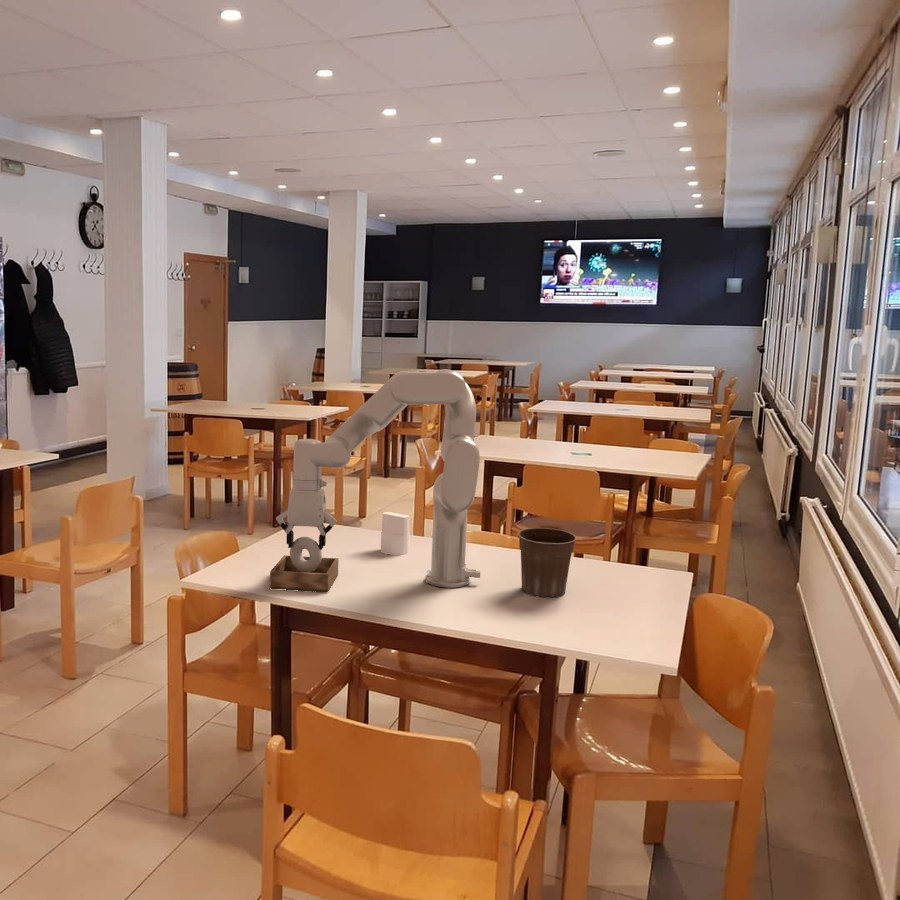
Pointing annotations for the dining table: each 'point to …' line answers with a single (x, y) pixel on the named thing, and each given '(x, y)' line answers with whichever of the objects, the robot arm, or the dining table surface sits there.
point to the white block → (395, 533)
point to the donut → (313, 552)
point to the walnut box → (304, 575)
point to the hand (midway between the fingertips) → (305, 547)
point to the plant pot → (545, 560)
